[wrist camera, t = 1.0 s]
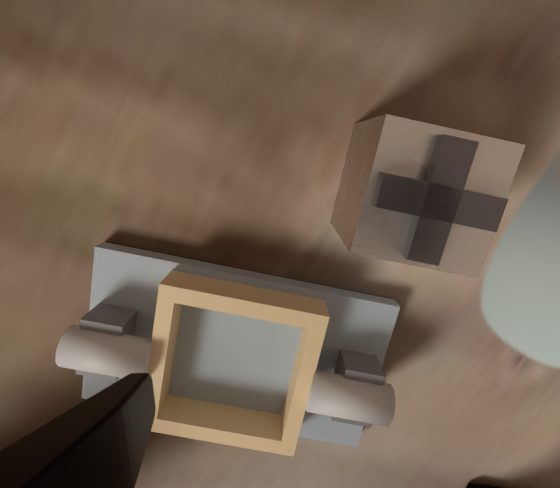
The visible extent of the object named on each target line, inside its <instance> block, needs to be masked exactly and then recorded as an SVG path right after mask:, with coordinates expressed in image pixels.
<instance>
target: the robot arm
mask: <svg viewBox="0 0 560 488" xmlns="http://www.w3.org/2000/svg"><path fill="white" fill-rule="evenodd" d="M155 411H156V406H155V398H154V389H153V381H152V377H151V375H150V374H149V373H131V374H128V375H127V376H125V377H123V378H122V379H120V380H118V381H117V382H115V383H113V384H112V385H110V386H108V387H107V388H105V389H103V390H102V391H100V392H98V393H96V394H95V395H93V396H91V397H90V398H88V399H86V400H85V401H83V402H81V403H80V404H78V405H76V406H75V407H73V408H71V409H70V410H68V411H66V412H64V413H63V414H61V415H59V416H58V417H56V418H54V419H53V420H51V421H49V422H48V423H46V424H44V425H43V426H41V427H39V428H38V429H36V430H34V431H33V432H31V433H29V434H27V435H26V436H24V437H22V438H21V439H19V440H17V441H16V442H14V443H12V444H11V445H9V446H7V447H6V448H4V449H2V450H1V451H0V488H134V487H135V484H136V481H137V477H138V474H139V470H140V467H141V463H142V460H143V457H144V453H145V450H146V446H147V443H148V439H149V436H150V432H151V429H152V425H153V422H154V418H155ZM466 488H497V487H492V486H486V485H481V484H470V485H468V486H467V487H466Z"/></svg>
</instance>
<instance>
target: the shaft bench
mask: <svg viewBox="0 0 560 488" xmlns="http://www.w3.org/2000/svg"><path fill="white" fill-rule="evenodd" d="M399 310H400V306H399V305H398V303H397V302H396V300H394V299H389V298H384V297H379V296H374V295H369V294H364V293H359V292H354V291H349V290H344V289H339V288H334V287H329V286H324V285H318V284H313V283H308V282H303V281H298V280H293V279H288V278H283V277H278V276H273V275H268V274H263V273H258V272H253V271H248V270H243V269H238V268H233V267H228V266H223V265H218V264H213V263H208V262H203V261H198V260H192V259H187V258H182V257H177V256H172V255H167V254H162V253H157V252H152V251H147V250H142V249H137V248H132V247H127V246H122V245H117V244H112V243H107V242H103V243H101V244H99V245H97V246H95V253H94V264H93V275H92V286H91V297H90V308H89V312H88V313H87V314H86V315H85V316H84V317H82V318H81V319H80V326H79V325H71V326H69V327H68V328H67V329H66V330H65V332H64V333H63V335H62V337H61V339H60V341H59V344H58V347H57V350H56V364H57V366H59V367H64V368H69V369H75V370H76V374H78V375H83V385H82V396H81V398H84V399H88V398H90V397H91V396H93V395H95V394H96V393H98V392H100V391H102V390H103V389H105V388H107V387H108V386H110V385H112V384H113V383H115V382H117V381H118V380H120V379H122V378H123V377H125V376H127V375H128V374H131V373H149V374H150V375H151V377H152V381H153V389H154V398H155V406H156V411H155V418H154V422H153V425H152V429H151V431H152V432H157V433H163V434H169V435H174V436H180V437H186V438H191V439H197V440H203V441H208V442H214V443H220V444H225V445H231V446H236V447H242V448H248V449H253V450H259V451H265V452H270V453H276V454H282V455H287V456H294V452H295V448H296V445H297V441H298V437H301V438H307V439H312V440H318V441H324V442H329V443H335V444H340V445H346V446H351V447H357V446H358V443H359V440H360V436H361V433H362V430H363V427H369V428H370V426H371V424H376V425H382V426H389V425H390V423H391V422H392V419H393V416H394V411H395V394H394V390H393V387H392V385H391V384H388V383H384V381H385V378H386V376H385V374H384V372H383V370H382V365H383V362H384V359H385V355H386V352H387V349H388V346H389V342H390V339H391V336H392V333H393V329H394V326H395V323H396V320H397V316H398V313H399Z"/></svg>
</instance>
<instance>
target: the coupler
mask: <svg viewBox="0 0 560 488" xmlns="http://www.w3.org/2000/svg"><path fill="white" fill-rule="evenodd" d="M525 146H526V145H524V144H519V143H515V142H510V141H506V140H501V139H497V138H492V137H488V136H483V135H479V134H474V133H470V132H465V131H461V130H456V129H452V128H447V127H443V126H438V125H434V124H429V123H425V122H420V121H416V120H411V119H407V118H402V117H398V116H393V115H389V114H385V115H382V116H378V117H375V118H372V119H369V120H365V121H362V122H359V123H356V124H354V126H353V131H352V135H351V139H350V143H349V147H348V151H347V155H346V159H345V163H344V167H343V171H342V176H341V180H340V184H339V188H338V192H337V196H336V200H335V204H334V208H333V212H332V216H331V220H330V222H331V224H332V225H333V227H334V229H335V230H336V232H337V233H338V235H339V236H340V238H341V239H342V241H343V243H344V244H345V246H346V247H347V249H348V250H349V252H350V253H355V254H360V255H365V256H370V257H374V258H379V259H384V260H389V261H394V262H399V263H404V264H409V265H414V266H419V267H424V268H429V269H434V270H438V271H443V272H448V273H453V274H458V275H463V276H468V277H473V278H479V275H480V272H481V269H482V266H483V264H484V261H485V258H486V255H487V252H488V249H489V247H490V244H491V241H492V238H493V235H494V233H495V232H497V229H498V227H499V224H500V221H501V218H502V215H503V213H504V210H505V207H506V204H507V201H508V199H507V196H508V193H509V191H510V188H511V185H512V182H513V179H514V177H515V174H516V171H517V168H518V165H519V163H520V160H521V157H522V154H523V151H524V149H525Z"/></svg>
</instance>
